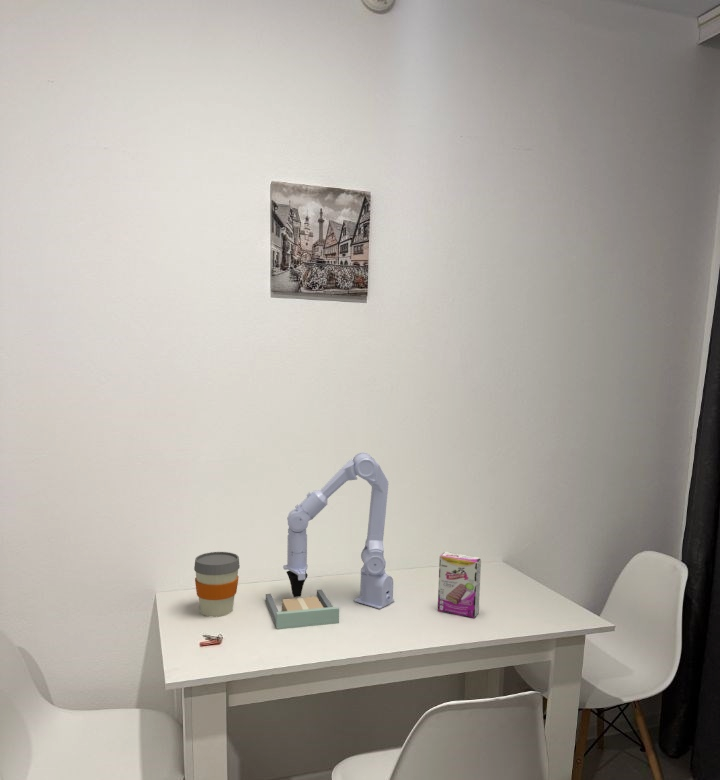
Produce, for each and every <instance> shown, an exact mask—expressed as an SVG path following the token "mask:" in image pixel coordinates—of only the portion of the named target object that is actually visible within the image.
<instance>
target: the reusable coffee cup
mask: <svg viewBox="0 0 720 780" xmlns="http://www.w3.org/2000/svg"><path fill="white" fill-rule="evenodd" d="M194 560H195V561H194V566H193V567H194V568H193V569H194V572H195V576H196V577H195V578H194V583H195V591H196V596H197V597H198V603H199V612H200V614H201V615H203V616H204V617H205V616H206V617H209V616H213V617H214V618H217V617H223V616H226V615H228V614H231V613H232V612H233V608H234V601H235V596H236V594H237V590H238V586H239V585H238V584H239V574H238V573H239V569H240V557H239V556H238V554H236V553H233V552H229V551H228V552H227V551H212V552H211V551H210V552H206V553H202V554H200V555H197V556H196V557H195V558H194ZM216 616H217V617H216ZM213 617H212V618H213Z"/></svg>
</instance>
